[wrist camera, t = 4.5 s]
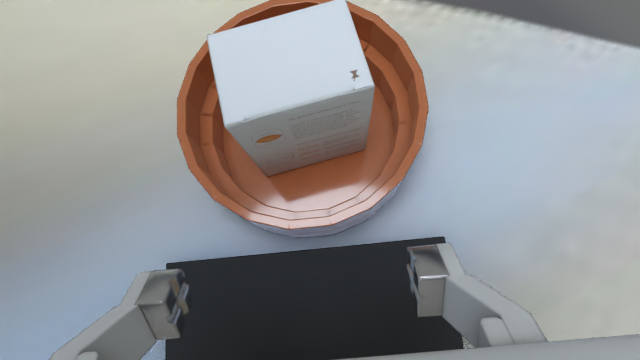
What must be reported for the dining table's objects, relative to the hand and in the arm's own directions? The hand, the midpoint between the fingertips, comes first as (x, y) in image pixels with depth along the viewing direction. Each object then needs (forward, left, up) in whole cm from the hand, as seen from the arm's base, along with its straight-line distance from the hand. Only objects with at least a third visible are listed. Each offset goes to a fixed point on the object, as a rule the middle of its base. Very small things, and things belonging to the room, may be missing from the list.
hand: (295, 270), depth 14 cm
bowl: (0, +11, -14) cm, 18 cm away
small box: (0, +11, -14) cm, 18 cm away
